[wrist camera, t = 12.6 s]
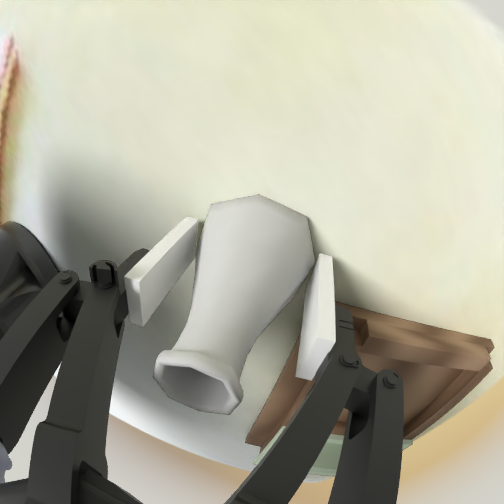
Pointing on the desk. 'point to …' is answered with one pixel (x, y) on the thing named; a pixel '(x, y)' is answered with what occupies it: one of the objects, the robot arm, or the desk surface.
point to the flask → (234, 298)
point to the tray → (397, 359)
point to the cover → (323, 454)
